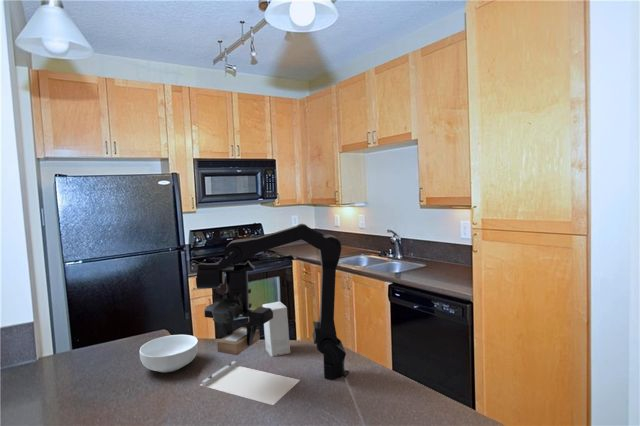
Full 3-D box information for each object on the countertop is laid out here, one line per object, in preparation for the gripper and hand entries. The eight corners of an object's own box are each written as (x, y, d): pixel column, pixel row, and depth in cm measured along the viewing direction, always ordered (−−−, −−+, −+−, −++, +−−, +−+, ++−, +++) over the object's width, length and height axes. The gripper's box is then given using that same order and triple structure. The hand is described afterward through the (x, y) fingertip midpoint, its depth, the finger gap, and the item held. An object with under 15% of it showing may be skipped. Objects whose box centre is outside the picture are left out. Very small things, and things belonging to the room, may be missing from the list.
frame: (241, 336, 110) (241, 326, 110) (259, 339, 108) (259, 328, 107) (217, 351, 100) (217, 340, 100) (236, 355, 98) (236, 343, 97)
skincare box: (290, 355, 122) (288, 307, 121) (270, 359, 119) (267, 310, 118) (283, 345, 129) (280, 300, 128) (264, 349, 127) (261, 303, 126)
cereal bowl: (187, 379, 109) (186, 355, 108) (130, 381, 109) (128, 357, 108) (206, 353, 126) (205, 332, 125) (156, 355, 126) (155, 334, 125)
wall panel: (231, 366, 115) (231, 358, 115) (300, 382, 104) (299, 374, 104) (200, 387, 104) (199, 378, 103) (273, 408, 93) (272, 398, 92)
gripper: (189, 291, 99) (191, 350, 100) (250, 298, 92) (252, 361, 93) (216, 281, 109) (218, 334, 110) (273, 287, 102) (275, 344, 103)
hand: (239, 343), depth 104 cm, fingers closed on frame, 6 cm apart
